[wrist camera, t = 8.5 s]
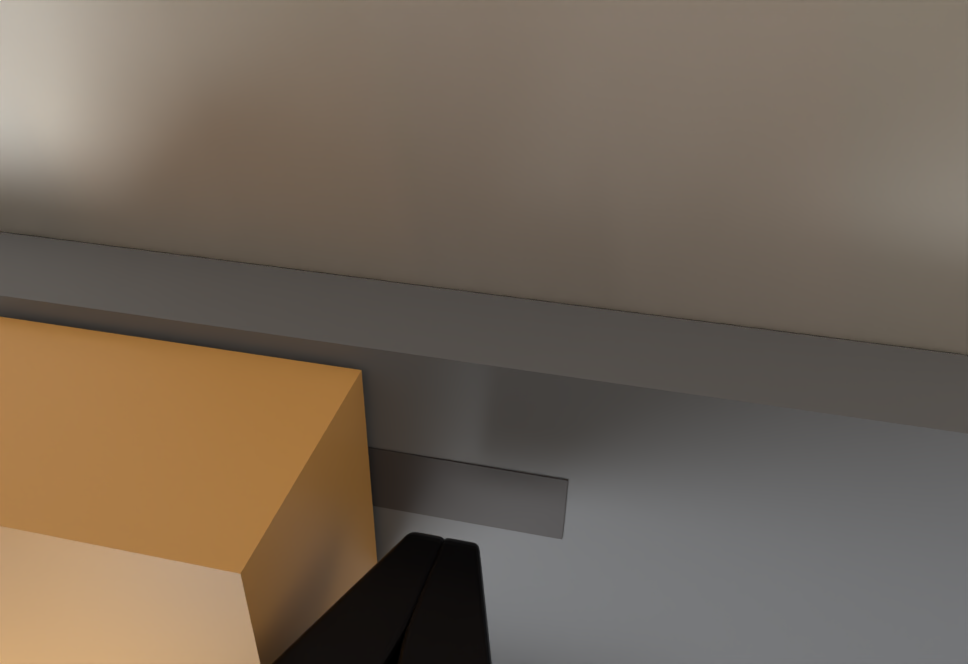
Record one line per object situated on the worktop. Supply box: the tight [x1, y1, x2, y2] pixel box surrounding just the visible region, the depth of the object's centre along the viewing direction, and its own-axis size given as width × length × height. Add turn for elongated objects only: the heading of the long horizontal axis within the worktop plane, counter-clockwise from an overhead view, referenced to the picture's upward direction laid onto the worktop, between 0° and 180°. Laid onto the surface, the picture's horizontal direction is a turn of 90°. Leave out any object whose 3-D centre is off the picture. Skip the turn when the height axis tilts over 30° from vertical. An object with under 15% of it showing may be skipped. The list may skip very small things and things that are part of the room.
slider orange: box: [0, 317, 377, 664], centre depth 9 cm, size 5×4×3 cm
